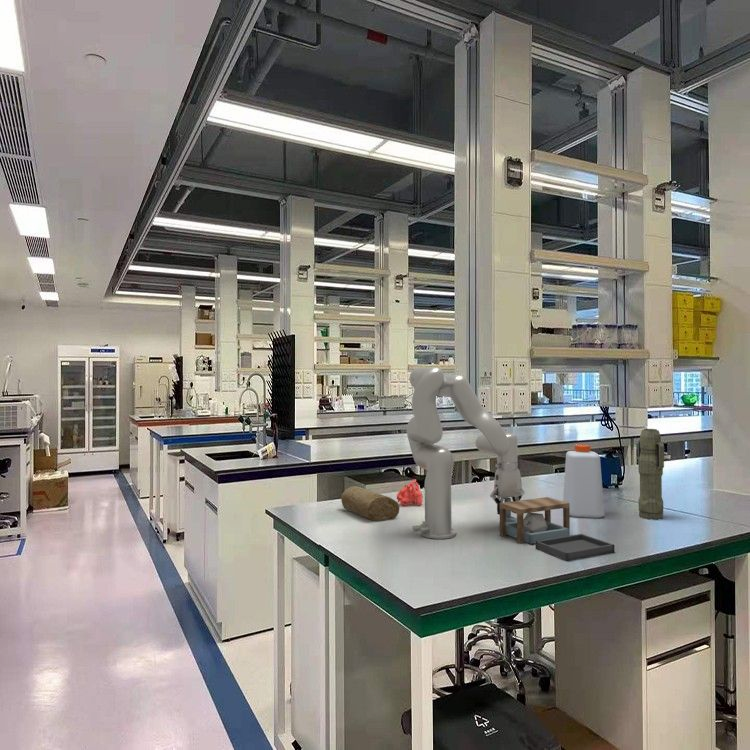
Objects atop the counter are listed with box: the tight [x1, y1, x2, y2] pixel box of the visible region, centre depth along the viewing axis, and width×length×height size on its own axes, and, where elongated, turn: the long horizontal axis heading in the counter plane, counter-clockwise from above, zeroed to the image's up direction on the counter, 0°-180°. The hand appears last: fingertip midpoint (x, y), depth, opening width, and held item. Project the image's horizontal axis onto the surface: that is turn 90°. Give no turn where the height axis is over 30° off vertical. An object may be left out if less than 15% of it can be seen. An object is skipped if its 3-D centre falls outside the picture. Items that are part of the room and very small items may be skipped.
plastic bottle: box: [562, 444, 605, 519], centre depth 230 cm, size 15×15×28 cm
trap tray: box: [534, 533, 615, 562], centre depth 182 cm, size 20×14×2 cm
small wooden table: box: [499, 496, 571, 545], centre depth 199 cm, size 22×11×12 cm, turn 115°
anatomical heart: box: [396, 479, 424, 507], centre depth 247 cm, size 9×12×12 cm
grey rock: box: [523, 512, 548, 533], centre depth 199 cm, size 8×9×10 cm
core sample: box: [340, 485, 400, 522], centre depth 231 cm, size 14×26×10 cm, turn 31°
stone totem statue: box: [636, 428, 665, 521], centre depth 224 cm, size 9×12×35 cm
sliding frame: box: [503, 497, 571, 545], centre depth 203 cm, size 24×17×10 cm
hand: (507, 513), depth 212 cm, fingers open, 5 cm apart
